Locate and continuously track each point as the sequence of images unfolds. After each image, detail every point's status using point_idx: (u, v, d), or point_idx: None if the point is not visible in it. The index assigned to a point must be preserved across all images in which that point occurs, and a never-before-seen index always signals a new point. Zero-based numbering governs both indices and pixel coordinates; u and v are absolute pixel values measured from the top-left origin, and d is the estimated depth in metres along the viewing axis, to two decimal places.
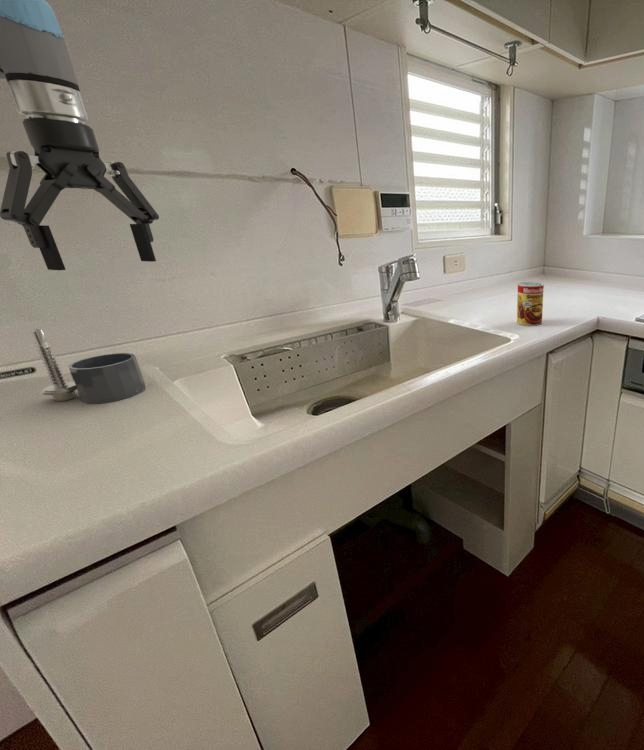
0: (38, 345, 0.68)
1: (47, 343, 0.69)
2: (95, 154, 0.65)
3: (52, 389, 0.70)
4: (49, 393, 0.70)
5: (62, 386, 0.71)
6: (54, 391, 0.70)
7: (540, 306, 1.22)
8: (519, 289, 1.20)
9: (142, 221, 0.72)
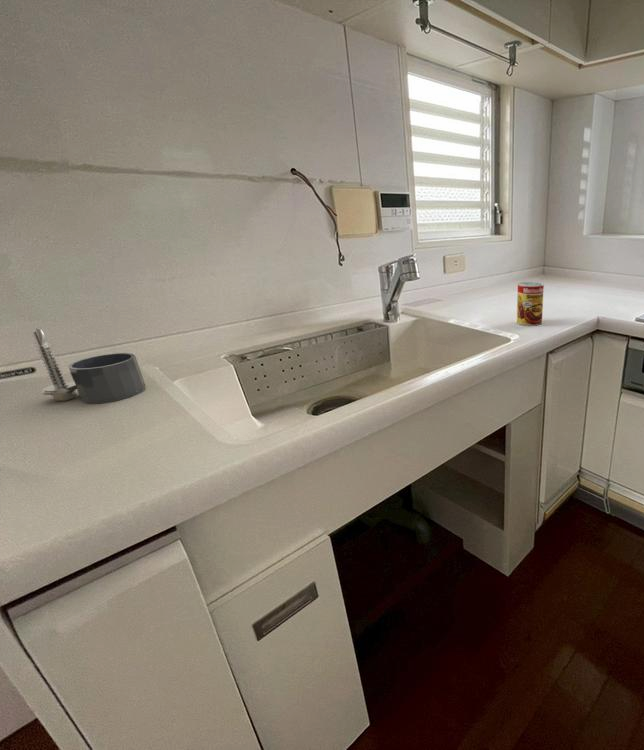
0: (38, 345, 0.68)
1: (47, 343, 0.69)
2: None
3: (52, 389, 0.70)
4: (49, 393, 0.70)
5: (62, 386, 0.71)
6: (54, 391, 0.70)
7: (540, 306, 1.22)
8: (519, 289, 1.20)
9: None
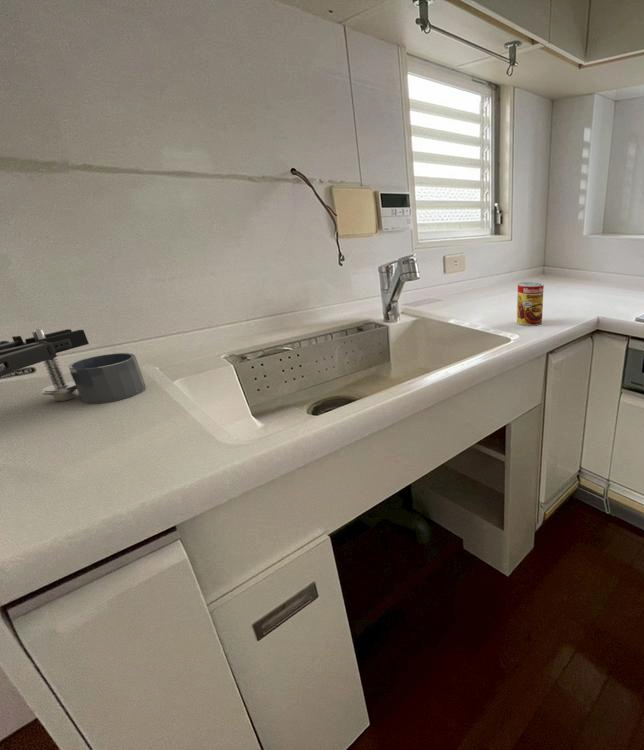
0: None
1: None
2: None
3: (52, 389, 0.70)
4: (49, 393, 0.70)
5: (62, 386, 0.71)
6: (54, 391, 0.70)
7: (540, 306, 1.22)
8: (519, 289, 1.20)
9: None
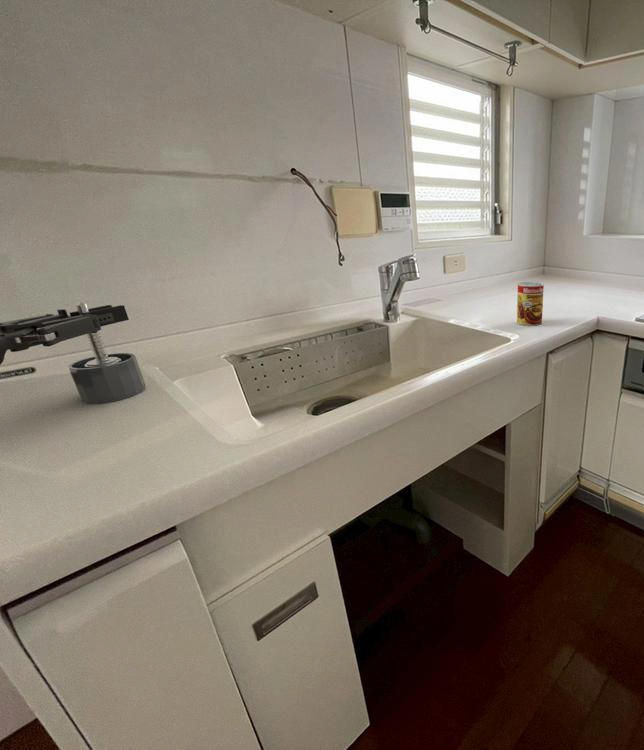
0: None
1: None
2: None
3: (95, 363, 0.71)
4: (92, 367, 0.70)
5: (104, 360, 0.72)
6: (97, 365, 0.70)
7: (540, 306, 1.22)
8: (519, 289, 1.20)
9: None
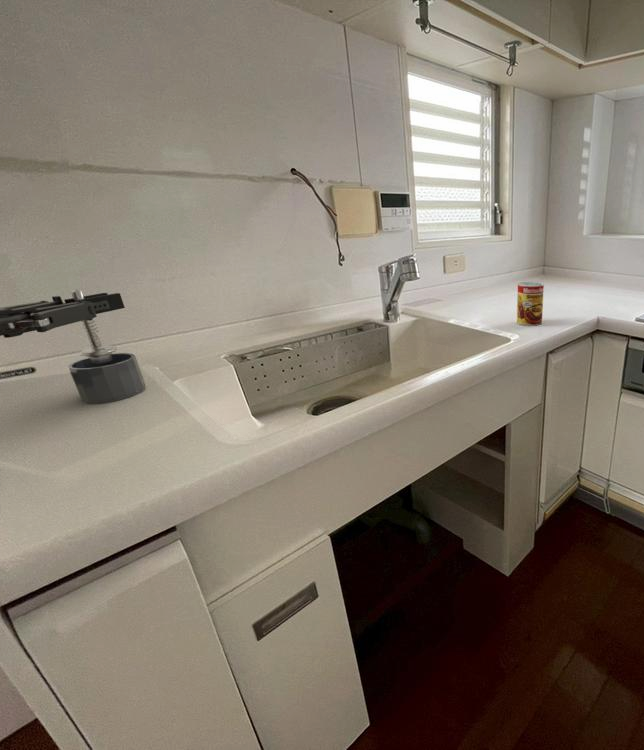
0: None
1: None
2: None
3: (90, 351, 0.70)
4: (87, 355, 0.69)
5: (99, 349, 0.71)
6: (92, 353, 0.70)
7: (540, 306, 1.22)
8: (519, 289, 1.20)
9: None
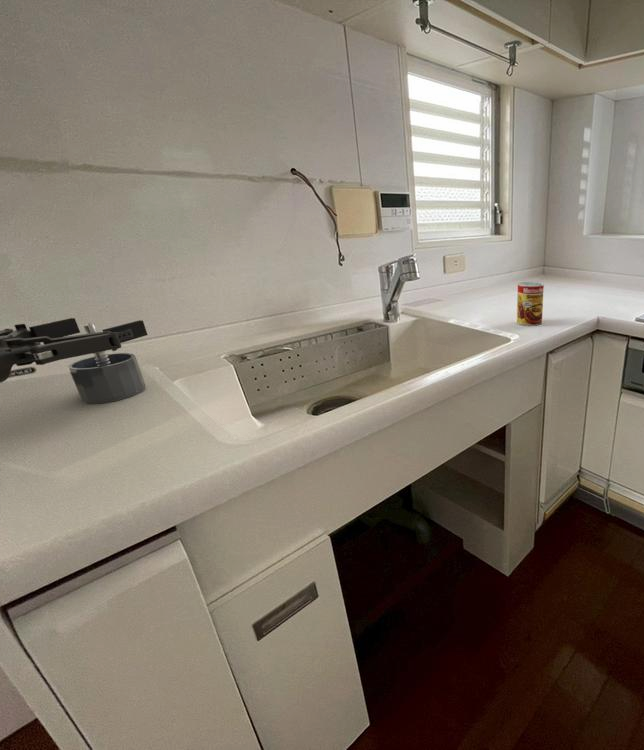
0: None
1: None
2: None
3: None
4: None
5: None
6: None
7: (540, 306, 1.22)
8: (519, 289, 1.20)
9: None
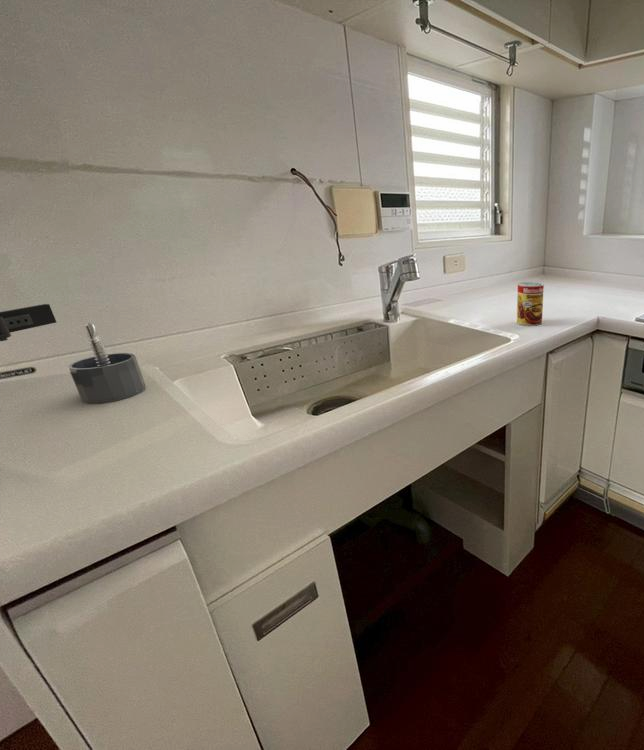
0: (90, 339, 0.70)
1: (98, 337, 0.71)
2: None
3: None
4: None
5: None
6: None
7: (540, 306, 1.22)
8: (519, 289, 1.20)
9: None
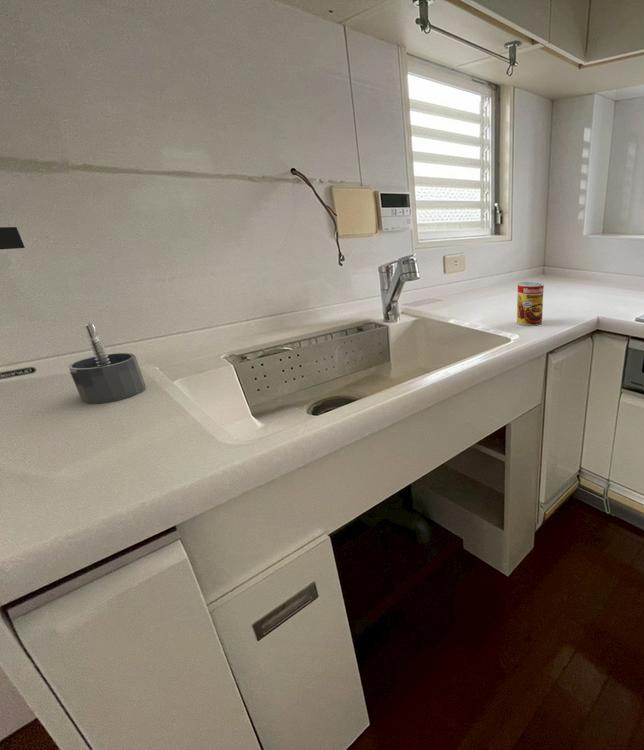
0: (90, 339, 0.70)
1: (98, 337, 0.71)
2: None
3: None
4: None
5: None
6: None
7: (540, 306, 1.22)
8: (519, 289, 1.20)
9: None
